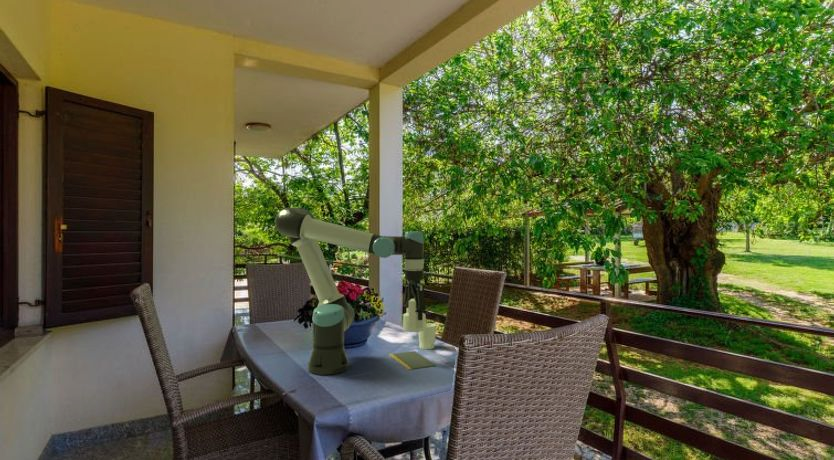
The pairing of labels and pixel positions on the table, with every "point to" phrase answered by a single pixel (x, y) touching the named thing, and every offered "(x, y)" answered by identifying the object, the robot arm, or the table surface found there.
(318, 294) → the robot arm
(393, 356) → the mat
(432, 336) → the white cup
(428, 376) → the table surface
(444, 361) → the table surface
